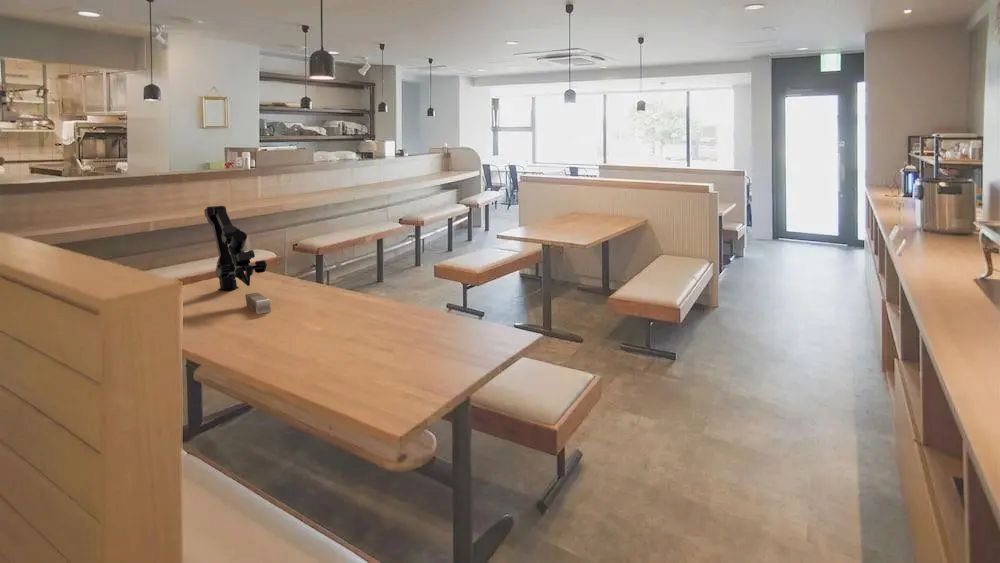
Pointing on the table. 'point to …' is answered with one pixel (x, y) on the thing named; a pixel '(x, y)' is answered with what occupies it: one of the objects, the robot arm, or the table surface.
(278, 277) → the table surface
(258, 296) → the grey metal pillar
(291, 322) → the table surface
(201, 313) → the table surface
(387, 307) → the table surface
